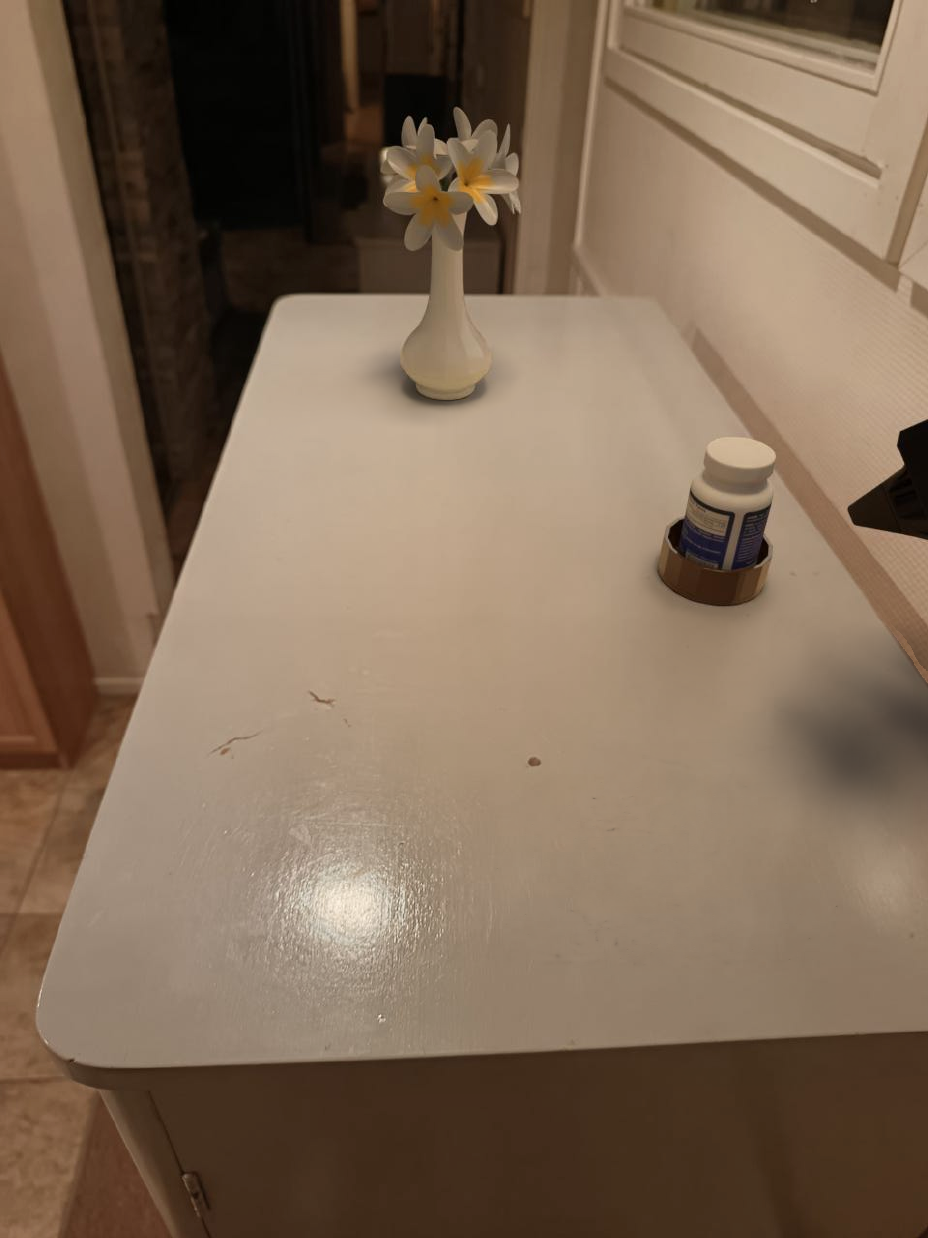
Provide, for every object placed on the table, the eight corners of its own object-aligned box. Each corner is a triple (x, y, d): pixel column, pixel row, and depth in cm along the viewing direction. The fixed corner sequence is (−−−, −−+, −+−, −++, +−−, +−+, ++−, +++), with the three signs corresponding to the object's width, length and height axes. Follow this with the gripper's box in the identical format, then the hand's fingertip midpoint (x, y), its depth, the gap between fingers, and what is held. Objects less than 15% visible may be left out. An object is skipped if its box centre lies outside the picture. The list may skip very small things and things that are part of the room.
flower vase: (381, 430, 84) (371, 137, 69) (391, 355, 99) (384, 99, 83) (516, 432, 85) (537, 141, 69) (506, 357, 99) (521, 103, 83)
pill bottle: (739, 548, 69) (769, 432, 63) (761, 592, 64) (797, 471, 58) (666, 549, 68) (690, 432, 62) (684, 593, 64) (712, 471, 58)
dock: (765, 556, 69) (774, 524, 67) (760, 614, 63) (770, 580, 61) (665, 538, 71) (671, 506, 69) (651, 593, 65) (658, 559, 63)
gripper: (1249, 170, 40) (942, 332, 54) (1032, 222, 32) (735, 398, 46) (1344, 394, 40) (1012, 498, 54) (1152, 507, 32) (817, 596, 46)
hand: (902, 493), depth 50 cm, fingers open, 9 cm apart
